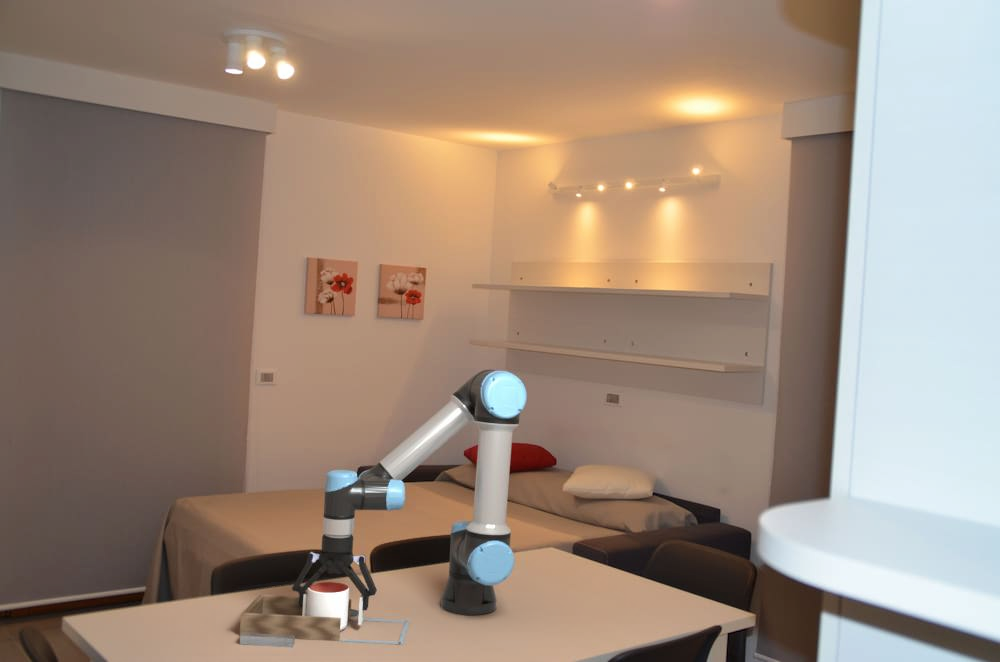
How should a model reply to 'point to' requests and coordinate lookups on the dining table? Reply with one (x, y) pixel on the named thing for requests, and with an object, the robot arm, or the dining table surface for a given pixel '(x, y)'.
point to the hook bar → (266, 639)
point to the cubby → (288, 619)
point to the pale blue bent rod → (382, 641)
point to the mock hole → (354, 612)
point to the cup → (328, 601)
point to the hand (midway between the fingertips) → (332, 621)
